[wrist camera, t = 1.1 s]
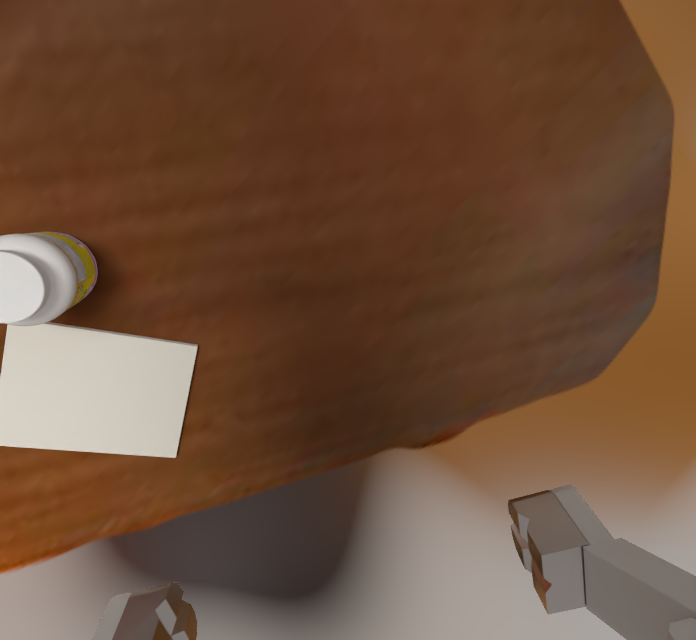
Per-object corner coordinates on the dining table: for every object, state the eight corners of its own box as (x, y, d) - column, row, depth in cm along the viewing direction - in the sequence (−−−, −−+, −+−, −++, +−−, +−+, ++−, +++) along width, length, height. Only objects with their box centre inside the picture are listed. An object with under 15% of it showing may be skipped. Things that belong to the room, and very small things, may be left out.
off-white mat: (-6, 441, 42) (-10, 445, 42) (11, 316, 41) (8, 318, 40) (176, 454, 48) (175, 457, 47) (197, 344, 46) (197, 346, 45)
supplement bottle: (36, 315, 41) (-31, 353, 29) (0, 244, 39) (-87, 254, 27) (112, 291, 43) (78, 318, 31) (81, 221, 41) (32, 222, 29)
